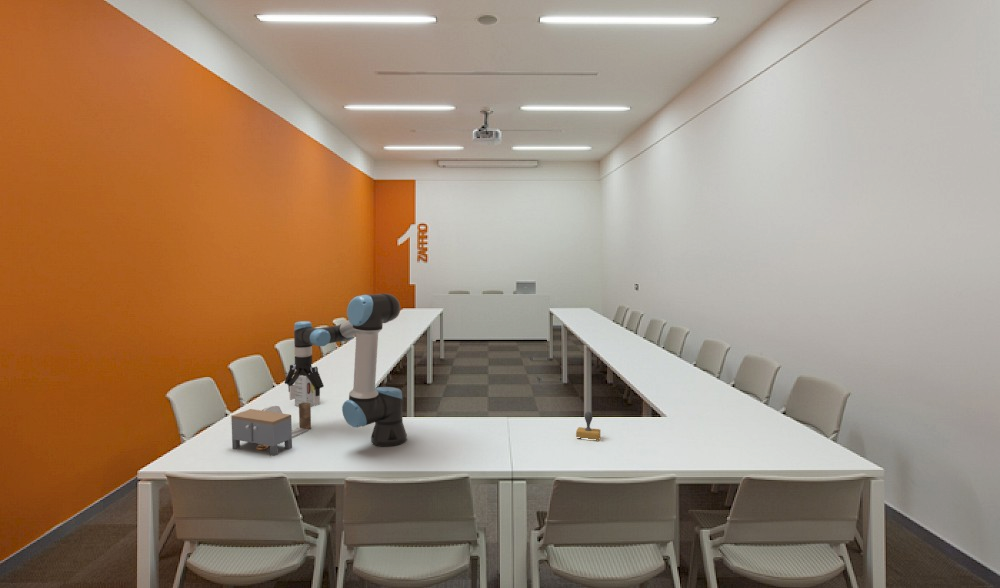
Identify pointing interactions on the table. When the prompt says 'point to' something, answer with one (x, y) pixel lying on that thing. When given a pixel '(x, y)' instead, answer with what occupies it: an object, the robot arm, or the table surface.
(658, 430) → the table surface
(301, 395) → the supplement box
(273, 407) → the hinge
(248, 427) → the low cabinet
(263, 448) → the copper disc
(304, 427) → the wooden block bookend
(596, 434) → the rubber stamp
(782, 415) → the table surface
